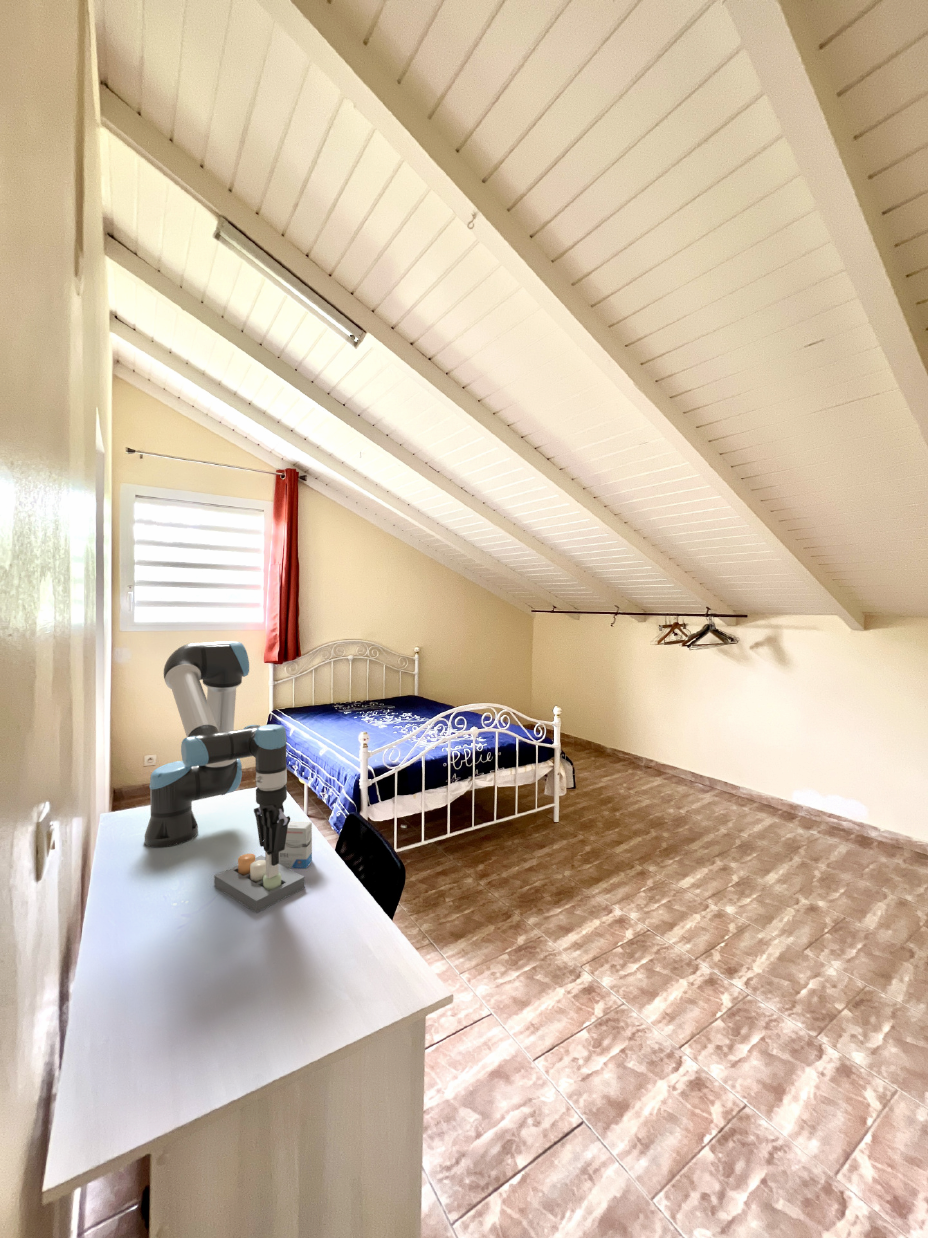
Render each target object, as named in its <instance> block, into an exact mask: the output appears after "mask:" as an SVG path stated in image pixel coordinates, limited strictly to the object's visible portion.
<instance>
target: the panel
mask: <svg viewBox="0 0 928 1238" xmlns="http://www.w3.org/2000/svg"><path fill="white" fill-rule="evenodd" d="M258 860H265V855H263V854H262V855H258V856H255V861H258ZM278 867H279V873H280V874H281V885H280V886H278V887H276V888H274V889H272V890H270V891H269V890H267V889H265V888H264V887H263V880H262V881H260V882H257V883H255V882H253V881H251V880H250V873H249V874H247V875H244V876H243V875H241V874H239V873H238V865H236V866H235V865H234V866H233V867H231V868H228V869H226V870H224V871H221V872H218V873H217V874H214V876H213V877H214V878H213V881H214V884H213V885H214V886H213V887H215V888H216V889H218V890H220V892H222V893H224V894H226V895H227V896H229V897H230V898H232V899H233V900H236V901H237V902H239V903H240V904H242V905H243V906H245V907H247V908H248V909H249V910H251V911H253V912H255V913H256V914H257V913H259V912H261V911H264V910H265V909H267V908H269V907H270V906H272V905H275V904H277V903H279V902H280V901H282V900H284V899H286V898H288V897H290V896H292V895H293V894H296V893H298V892H299V891H301V890H303V889H305V888H306V887H305V883H306V882H305V876H304V875H302V874H299V873H297V872H295V871H294V870H291V869H290V868H286V867H284V866H282V865H280V864H278Z"/></svg>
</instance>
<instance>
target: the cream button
mask: <svg viewBox="0 0 928 1238" xmlns="http://www.w3.org/2000/svg"><path fill="white" fill-rule="evenodd" d="M265 875H266V860H258V861H255V862H253V863H251V865H250V880H251V881H253V882H255V883H257V882H260V881H262V880H263V877H264V876H265Z"/></svg>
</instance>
